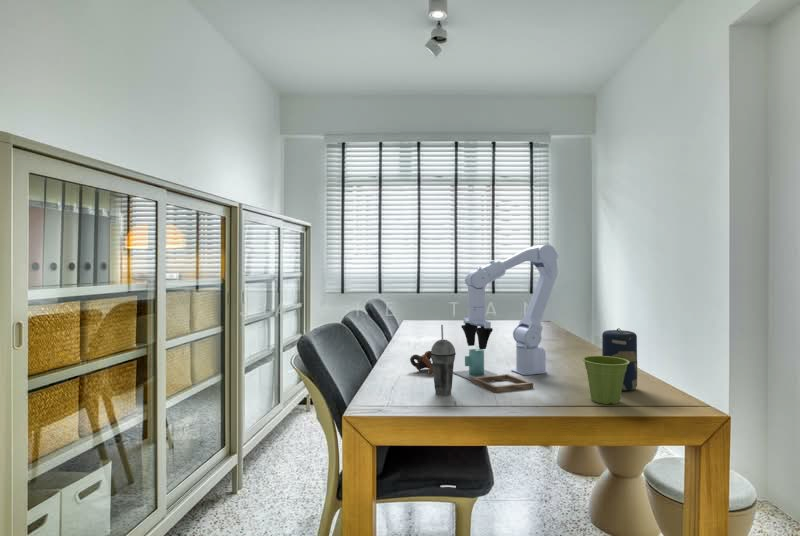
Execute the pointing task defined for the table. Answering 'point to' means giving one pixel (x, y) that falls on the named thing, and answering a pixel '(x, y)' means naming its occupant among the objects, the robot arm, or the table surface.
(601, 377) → the plant pot
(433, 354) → the beverage cup
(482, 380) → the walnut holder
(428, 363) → the brown looped knot
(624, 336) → the canister
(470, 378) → the gray mat
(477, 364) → the teal jug
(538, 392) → the table surface
